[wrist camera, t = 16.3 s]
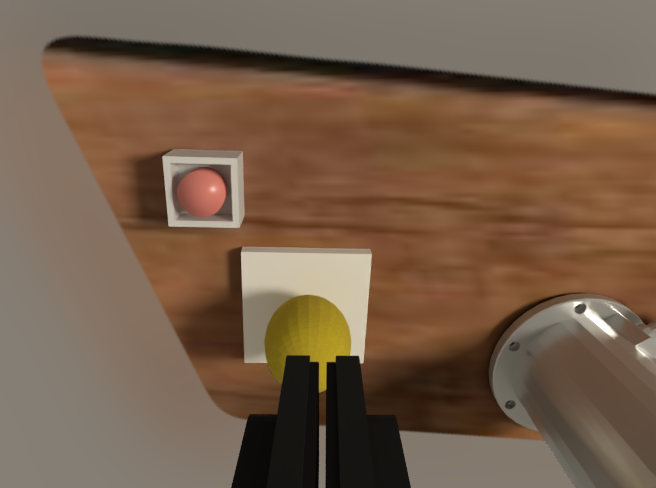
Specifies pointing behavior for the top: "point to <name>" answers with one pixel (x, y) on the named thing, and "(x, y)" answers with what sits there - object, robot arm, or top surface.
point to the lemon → (306, 334)
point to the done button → (202, 192)
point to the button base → (221, 160)
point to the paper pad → (303, 288)
